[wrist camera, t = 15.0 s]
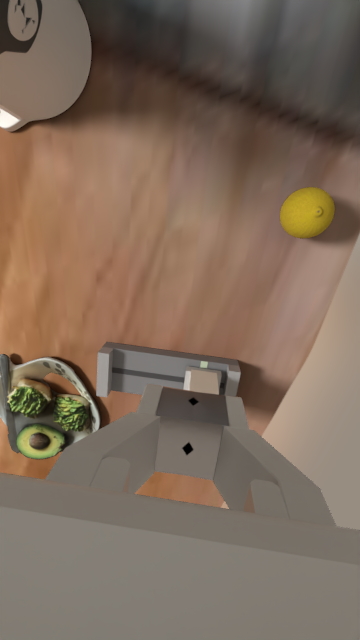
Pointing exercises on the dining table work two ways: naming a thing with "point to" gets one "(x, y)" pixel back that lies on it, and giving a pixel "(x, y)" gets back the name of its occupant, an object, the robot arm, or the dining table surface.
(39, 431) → the salad plate
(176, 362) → the slider track
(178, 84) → the dining table surface
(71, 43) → the robot arm
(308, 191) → the lemon
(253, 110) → the dining table surface
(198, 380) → the slider knob
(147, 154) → the dining table surface
